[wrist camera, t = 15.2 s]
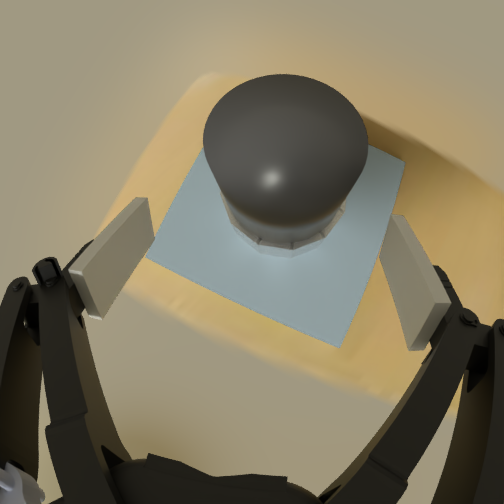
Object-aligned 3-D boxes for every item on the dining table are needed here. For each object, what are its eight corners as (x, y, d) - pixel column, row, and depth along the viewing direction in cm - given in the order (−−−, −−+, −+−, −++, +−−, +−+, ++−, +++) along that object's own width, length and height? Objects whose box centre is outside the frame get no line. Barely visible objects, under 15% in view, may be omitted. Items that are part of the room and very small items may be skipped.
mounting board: (400, 168, 28) (405, 162, 27) (336, 346, 26) (339, 348, 24) (236, 104, 31) (234, 96, 30) (151, 259, 29) (145, 257, 27)
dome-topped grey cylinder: (347, 231, 26) (396, 179, 14) (252, 267, 26) (233, 237, 14) (308, 147, 28) (322, 62, 16) (220, 178, 28) (186, 101, 16)
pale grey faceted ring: (353, 234, 26) (366, 221, 22) (251, 273, 26) (246, 267, 22) (310, 144, 28) (314, 120, 24) (216, 177, 28) (206, 156, 24)
